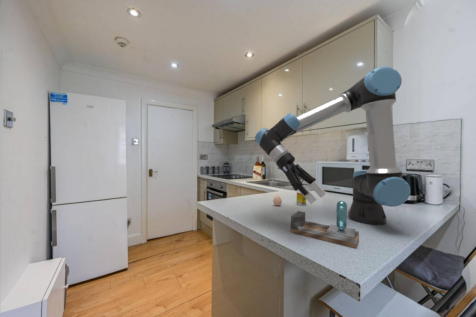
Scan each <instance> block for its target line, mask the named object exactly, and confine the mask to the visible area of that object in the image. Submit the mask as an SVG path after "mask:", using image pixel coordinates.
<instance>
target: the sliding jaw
mask: <svg viewBox="0 0 476 317" xmlns="http://www.w3.org/2000/svg"><path fill="white" fill-rule="evenodd" d="M347 210H348V204H347V203H346V202H345V201H343V200H339V201H337V202H336V219H335V220H336V222H335V223H336V224H330V225H329V226H330V227H329V228H328V229H327V233H332V234H336V235H340V236H345V237H349V238H354V237H355V231H356V229H355V228H351V227H347V223H348V221H347V220H348V216H347V214H348V211H347Z"/></svg>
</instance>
